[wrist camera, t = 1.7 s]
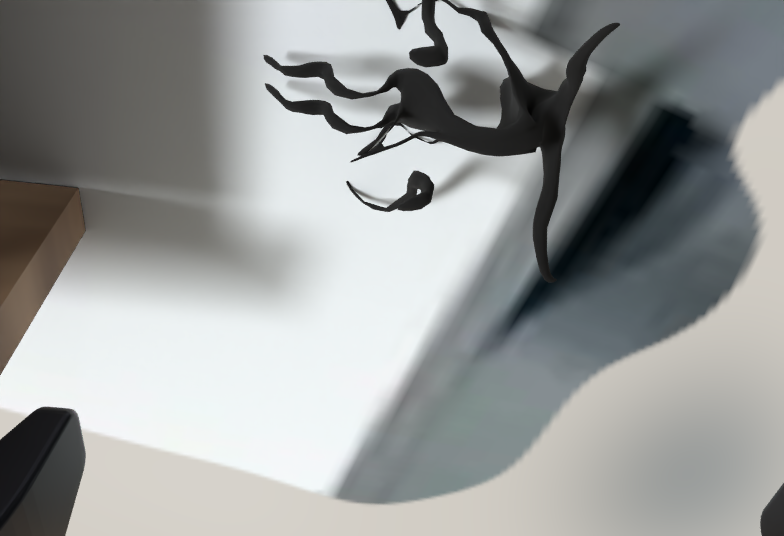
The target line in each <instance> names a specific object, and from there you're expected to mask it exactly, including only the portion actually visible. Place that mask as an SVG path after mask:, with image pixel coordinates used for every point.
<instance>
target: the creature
mask: <svg viewBox="0 0 784 536" xmlns="http://www.w3.org/2000/svg"><path fill="white" fill-rule="evenodd" d="M386 1H387V3H388V5H389V7H390V9H391V11H392V13H393V16H394V18H395V21H396V25H397V28H398V29H400V27H401V25H402V24H403V22H404V20H405V18H406V16H407V14H408V13H410V12H411V11H412V10H413V9H414V8H415V7H414V8H413V9H411V10H409V11H399V10H398V9H397V8H396V6H395V5H394V3H393V2H392V0H386ZM435 1H437V0H422V3H420V4H422V20H423V23H424V27H425V33H426V34H427V35H428V36H429V37H430V38H431V39H432V40H433V41H434V45H435V46H430V47H421V48H416V49H412V50H411V51H410V52H409V55H410V59H411V60H412V61H413V62H414V63H416V64H417V65H420V66H423V67H433V66H440V65H444V64H446V63H447V60H448V47H447V44H446V42H445V39H444V37H443V33H442V32H441V31H440V30H439V28H438V27H437V26H436V24H435V18H434V14H435ZM442 1H444V2H445V3H447V4H448V5H450V6H451V7H452V8H453V9H454V10H456V11H457V12H458V13H460V14H464V15H467V16H470V17H472V18H473V19H475V20H476V21H478V23H479V25H480V28H481V32H482V33H483V34H484V35H485V36H486V37H487V38H488V39H489V40H490V41H491V42H492V43H493V44H494V46H495V47H496V49H497V50H498V52H499V54H500V55H501V57H502V59H503V61H504V64H505V66H506V68H507V71H508V75H509V77H508V78H506V79H504V80H503V83H502V85H501V86H500V94H501V95H500V100H501V106H502V115H501V121H500V124H499V126H498V127H497V129H495V128H487V127H478V126H475V125H473V124H471V123H469V122H467V121H465V120H463V119H462V118H460V117H458V116H456V115H454V113H453V112H452V110H451V108H450V107H449V105H448V104H447V102H446V100H445V99H444V97H443V94H442V92H441V90H440V88H439V86H438V85H437V83H436V82H435V81H434V80H433V79H432V78H431V77H430V76H429V75H428V74H426V73H424V72H422V71H420V70H419V69H413V68H406V69H400V70H396V71H395V72H394V73H393V74H391V75H390V76H389V77H388V79H387V81H386V82H385V84H384V85H383V86H382V87H381V88H380V89H379V90H378V91H374V92H368V93H359V92H356V91H353V90H350V89H347V88H346V87H345V86H344V85H343V84H341V83H340V82H339V81H338V80H337V79H336V78H335V77H334V73H333V69H332V66H331V64H329V63H327V62H311V63H306V64H303V65H299V66H281V65H280V64H279V63H277V62H276V61H275V60H274V59H273V58H271V57H270V56H268V55H264V60H265V61H266V62H267V63H268V64H270V65H271V66H272V67H274V68H275V69H277V70H279V71H280V72H282V73H283V74H284V75H286V76H291V77H300V78H309V77H320V78H322V79H324V81H325V83H326V86H327V88H328V89H329V90H330V91H331V92H332V93H333V94H334V95H336V96H340V97H344V98H349V99H358V98H364V97H370V96H374V95H377V94H380V93H384V92H387V91H389V90H390V89H392V88H393V87H396V88H397V89H398V90H399V91H400V92H401V102H400V103H398V104H394V105H391V106H390V107H389V108H388V110H387V111H386V113H385V115H384V117H383V119H382V120H381V121H380V122H379V123H377V124H376V125H374V126H370V127H359V126H352V125H349V124H348V123H347V122H345V121H344V120H343V119H341V118H340V117H339V116H337V115H336V114H335V113H334V112H333V109H332V106H331V104H330V103H328V102H326V101H321V100H306V101H295V102H291V101H288V100H286V99H285V98H284V97H283V96H282V95H281V94H280V93H279V91H278V90H277V89H275V88H274V87H273V86H271V85H270V84H266V83H265V86H266V88H267V90H268V91H269V92H270V93H271V94H272V95H273V96H274V97H275V98H276V99H277V100H278V101H279V102H280V103H281V104H282V105H283V106H284V107H285V108H286V109H288V110H290V111H292V112H299V113H304V114H310V115H324V117H325V119H326V121H327V122H328V123H329V124H330V126H331V127H332V128H333V129H336V130H338V131H340V132H343V133H345V134H351V133H359V132H365V131H369V130H372V129H376V128H382V127H384V128H383V129H382V131H381V132H380V134H379V135H378V137H377V138H376V139H375V140H374V141H373V142H372V143H370V144H369V145H368V146H366V147H365V148H363V149H362V150H361V151H360V152H359V153H358V155H360V157H358V158H356V159H354V160H352V161H351V162H354V161H356V160H359V159H362V158H364V157H367V156H370V155H373V154H377V153H379V152H382V151H385V150H387V149H390V148H393V147H396V146H399V145H401V144H403V143H405V142H407V141H409V140H411V139H413V138H417V139H419V140H422V139H421V138H419V136H426V137H431V138H434V139H436V140H435V141H433V142H427V143H429V144H435V143H437V142H438V141H443V142H446V143H449V144H452V145H454V146H457V147H460V148H462V149H465V150H467V151H471V152H475V153H479V154H483V155H490V156H511V155H520V154H526V153H533V152H536V148H537V147H540V148H541V151H542V157H543V170H544V178H543V187H542V191H541V195H540V198H539V201H538V204H537V208H536V212H535V216H534V222H533V241H534V247H535V252H536V258H537V262H538V266H539V269H540V272H541V274H542V276H543V277H544V279H545V280H546V281H547V282H555V281H556V279H554V278H553V277H552V275H551V273H550V269H549V265H548V257H547V226H548V224H549V221H550V218H551V215H552V212H553V209H554V206H555V203H556V201H557V197H558V185H559V173H560V164H561V150H562V145H563V141H564V137H565V124H566V120H567V116H568V113H569V110H570V108H571V105H572V103H573V100H574V98H575V96H576V94H577V92H578V90H579V88H580V85H581V83H582V81H583V77H584V74H585V72H586V64H587V61H588V58H589V56H590V54H591V53H592V52H593V50H594V49H595V48H596V47H597V46H598V44H599V43H600V42H601V41H602V40H603V39H604V38H605V37H606V36H607V35H609V34H610V33H611V32H612V31H613V30H615V29H616V28H617V27H618V26H619V25H620V24H619V23H612V24H609V25H607V26H605V27H604V28H602V29H600V30H599V31H598V32H597V33H595V34H594V35H593V36H592V37H591V38H590V39H589V40H588V41H586V42H585V43H584V44H583V45H582V46H581V47H580V49H579V50H578V51H577V52H576V53H575V54H574V55H573V57H572V58H571V59H570V60H569V62H568V64H567V68H566V77H567V78H566V79H565V80H564V81H563V82H562V84H561V86H560V88H559V90H558V91H552V90H546V89H543V88H540V87H538V86H536V85H533V84H531V83H529V82H527V81H526V80H525V79H524V77H523V75H522V74H521V72H520V70H519V69H518V67H517V66H516V65H515V63H514V62H513V61H512V60H511V58H510V56H509V54H508V53H507V51H506V49H505V48H504V46H503V45H502V43H501V42H500V40H499V38H498V37H497V35H496V33H495V32H494V30H493V28H492V25H491V22H490V20H489V17H488V15H487V13H486V12H484V11H479V10H475V9H471V8H459V7H456V6H455V5H454V4H452V3H451V2H450V1H448V0H442ZM420 4H418V5H420ZM418 5H417V6H418ZM401 123H403V124H405V125H407V126H408V127H411V128H415V129H419V130H423V131H421V132H418V133H415V134H411V133H410V134H411V135H412V136H410V137H408V138H406V139H404V140H402V141H400V142H398V143H396V144H393V145H389V146H386V147H384V146H383V144H382V142H383V141H384V139H385V138H386V135H387V134H386V135H385V137H384V138H383V139H382V140H381V141H380V142H379V143H378V144H377V145H376V146H375V147H374V148H373V149H371V148H372V147H373V146H374V145H375V144H376V142H377V141H378V140H379V139H380V138H381V137H382V136H383V134H384V133H385V132H386V131H387V130H388V129H389V128H390V127H391V126H392V127H391V128H390V130H391V129H392V128H393V127H394V125H396V126H402V127H403V125H402V124H401ZM403 128H404V127H403ZM404 129H405V128H404ZM390 130H389V131H390ZM405 130H406V129H405ZM389 131H388V132H389ZM422 141H424V140H422ZM424 142H426V141H424ZM370 149H371V150H370ZM369 150H370V151H369ZM346 183H347V185H348V187H349V189H350V190H351V192H352V193H353V194H354V195H355V196H356V197H357V198H358V199H359V200H360V201H361V202H362V203H364V204H365V205H367V206H369V207H370V208H372V209H375V210H380V211H385V212H390V211H393V210H395V209H397V208H398V210H402V211H413V210H418V209H422V208H423V207H425V206H426V205H428V204H429V203H431V199H432V195H433V190H434V184H433V182H432V181H431V180H430V178H429V176H427V175H426V174H424V173H422V172H419V171H413V173H412V174H411V176H410V177H409V179H408V184H407V193H406V194H405V195H403V196H402V197H401V198H399V199H398V200H397V201H395V202H394V203H393V204H391V205H390V206H388V207H387V208H384V207H380V206H377V205H374V204H371V203H368V202H364V201H363V200H362V199H361V198H360V197H359V195H358V194H357V193H356V192H355V191H354V190H353V189H352V188H351V186H350V184H349V181H346ZM417 189H420V190H421V193H420V194H418V195H416V194H417Z"/></svg>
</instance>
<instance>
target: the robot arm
mask: <svg viewBox="0 0 784 536" xmlns="http://www.w3.org/2000/svg"><path fill="white" fill-rule="evenodd" d="M85 458H86V453H85V447H84V442H83V437H82V431H81V426H80V421H79V417H78V414H77V413H76V411H74V410H73V409H68V408H57V407H41V408H39V409H37V410H35V411H34V412H32V413H31V414H30V415H29V416H28V417H26V418H25V419H24V420H23V421H22V422H21V423H19V424H18V425H17V426H16V427H15V428H14V429H12V430H11V431H10V432H9V433H8V434H6V435H5V436H4V437H3V438H2V439H1V440H0V536H65V534H66V531H67V527H68V524H69V520H70V517H71V513H72V509H73V506H74V503H75V499H76V495H77V492H78V489H79V485H80V481H81V478H82V474H83V471H84V466H85ZM760 523H761V534H762V536H784V483H783V485H782V486H781V487H780V489H779V490H778V491H777V493H776V494H775V495H774V497H773V498H772V499H771V501H770V502H769V503H768V505H767V506H766V507H765V509H764V510H763V512H762V515H761V522H760Z"/></svg>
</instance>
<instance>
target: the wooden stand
mask: <svg viewBox="0 0 784 536" xmlns="http://www.w3.org/2000/svg"><path fill="white" fill-rule="evenodd" d="M85 231H86V230H85V224H84V218H83V212H82V206H81V200H80V194H79V188H73V187H63V186H54V185H44V184H35V183H25V182H16V181H6V180H0V375H1V373H2V371H3V370H4V368H5V366H6V365H7V363H8V361H9V360H10V358H11V356H12V354H13V353H14V351H15V349H16V348H17V346H18V344H19V343H20V341H21V339H22V338H23V336H24V334H25V332H26V331H27V329H28V327H29V326H30V324H31V322H32V321H33V319H34V317H35V316H36V314H37V312H38V310H39V309H40V307H41V305H42V304H43V302H44V300H45V299H46V297H47V295H48V294H49V292H50V290H51V288H52V287H53V285H54V283H55V282H56V280H57V278H58V277H59V275H60V273H61V272H62V270H63V268H64V266H65V265H66V263H67V261H68V260H69V258H70V256H71V255H72V253H73V251H74V250H75V248H76V246H77V244H78V243H79V241H80V239H81V238H82V236H83V234H84V233H85Z"/></svg>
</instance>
